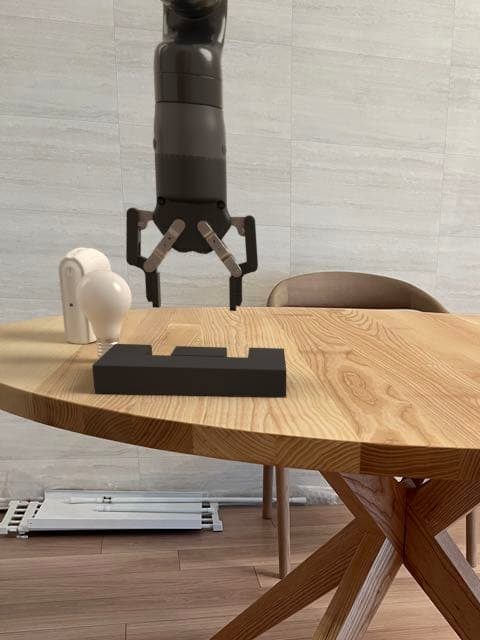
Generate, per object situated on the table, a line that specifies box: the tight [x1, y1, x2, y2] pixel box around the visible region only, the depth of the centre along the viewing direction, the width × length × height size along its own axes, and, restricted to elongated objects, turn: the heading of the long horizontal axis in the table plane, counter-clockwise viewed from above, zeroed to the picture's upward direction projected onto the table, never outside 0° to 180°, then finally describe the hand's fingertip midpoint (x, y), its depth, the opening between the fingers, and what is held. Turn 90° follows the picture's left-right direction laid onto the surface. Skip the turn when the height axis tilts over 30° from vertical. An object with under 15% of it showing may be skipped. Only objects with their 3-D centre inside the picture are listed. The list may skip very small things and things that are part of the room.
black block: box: [170, 345, 228, 357], centre depth 97 cm, size 6×6×3 cm
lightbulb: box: [76, 269, 133, 359], centre depth 101 cm, size 6×6×11 cm
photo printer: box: [58, 246, 112, 345], centre depth 116 cm, size 10×4×12 cm, turn 177°
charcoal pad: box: [91, 343, 287, 398], centre depth 94 cm, size 20×14×3 cm
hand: (195, 308), depth 95 cm, fingers open, 8 cm apart
